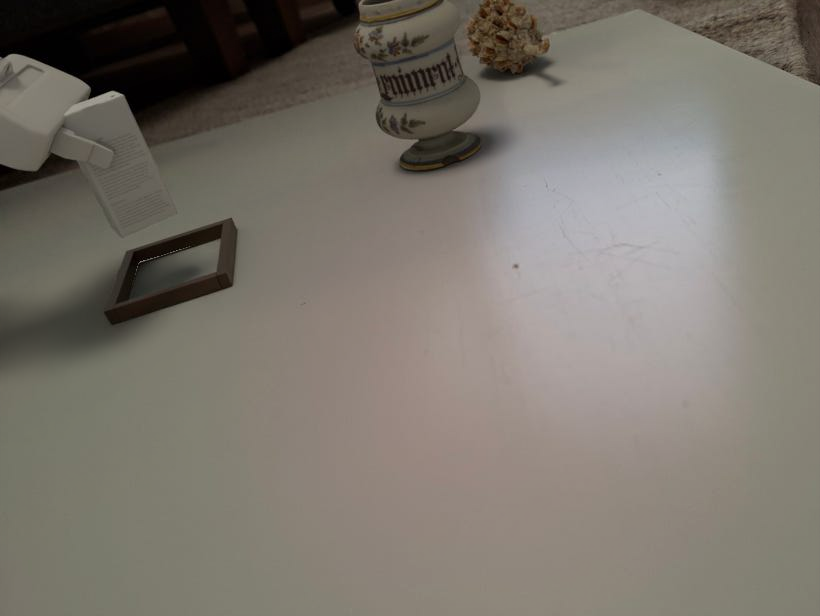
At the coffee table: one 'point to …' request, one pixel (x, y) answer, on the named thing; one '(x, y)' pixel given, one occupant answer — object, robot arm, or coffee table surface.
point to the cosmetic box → (121, 165)
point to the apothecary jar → (419, 78)
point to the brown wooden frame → (126, 309)
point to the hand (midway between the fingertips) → (118, 149)
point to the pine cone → (505, 35)
